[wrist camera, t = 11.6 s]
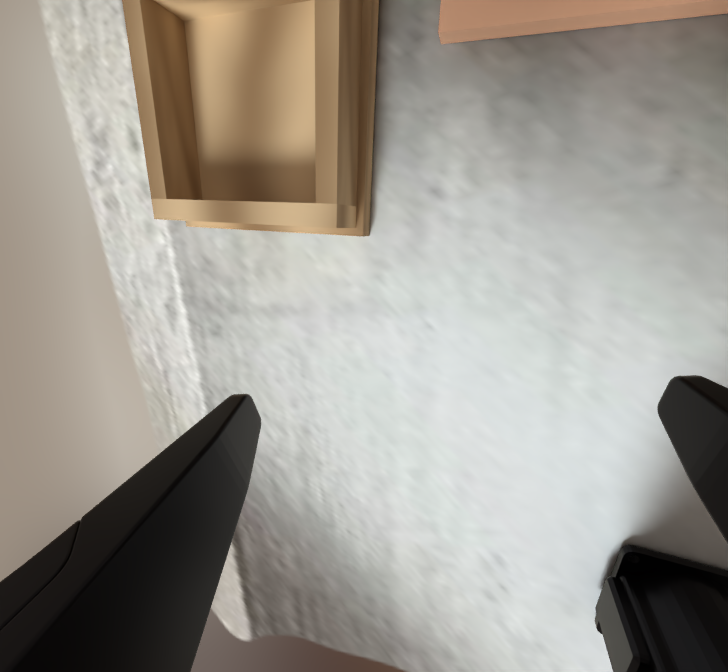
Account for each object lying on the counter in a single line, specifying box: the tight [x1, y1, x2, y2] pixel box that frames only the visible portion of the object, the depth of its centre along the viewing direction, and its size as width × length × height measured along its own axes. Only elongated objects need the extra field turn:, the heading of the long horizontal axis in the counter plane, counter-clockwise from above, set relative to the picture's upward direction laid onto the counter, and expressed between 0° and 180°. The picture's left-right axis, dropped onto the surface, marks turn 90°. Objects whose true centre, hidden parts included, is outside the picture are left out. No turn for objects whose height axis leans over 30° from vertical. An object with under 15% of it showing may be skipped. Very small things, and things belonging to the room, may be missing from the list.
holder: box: [122, 0, 379, 236], centre depth 17 cm, size 11×11×4 cm
